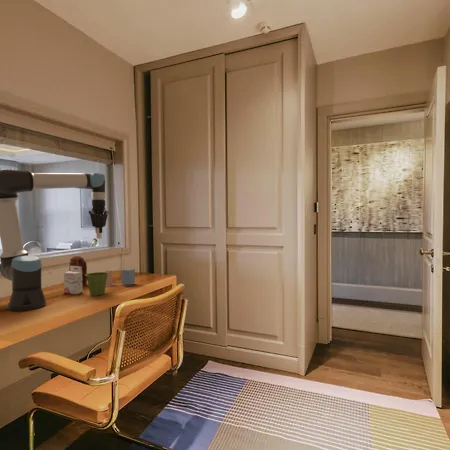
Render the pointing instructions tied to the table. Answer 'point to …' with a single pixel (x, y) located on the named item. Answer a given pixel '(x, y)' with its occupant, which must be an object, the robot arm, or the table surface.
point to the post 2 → (127, 284)
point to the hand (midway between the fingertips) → (99, 238)
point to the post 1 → (109, 278)
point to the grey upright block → (127, 276)
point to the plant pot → (97, 282)
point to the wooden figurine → (80, 262)
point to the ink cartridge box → (73, 280)
